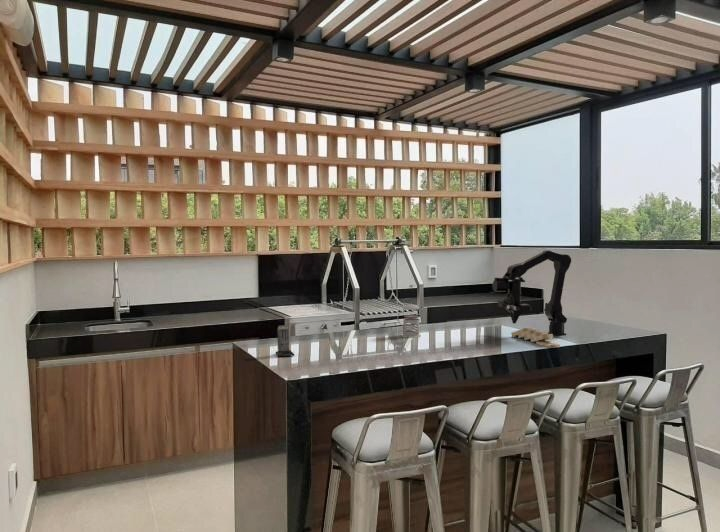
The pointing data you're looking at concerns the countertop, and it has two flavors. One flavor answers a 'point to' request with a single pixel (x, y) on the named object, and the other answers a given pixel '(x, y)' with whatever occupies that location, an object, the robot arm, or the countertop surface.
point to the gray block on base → (283, 341)
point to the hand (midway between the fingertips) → (514, 323)
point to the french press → (412, 320)
